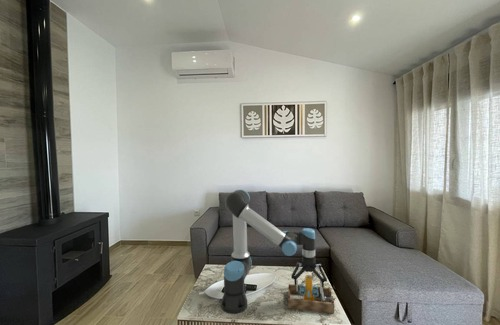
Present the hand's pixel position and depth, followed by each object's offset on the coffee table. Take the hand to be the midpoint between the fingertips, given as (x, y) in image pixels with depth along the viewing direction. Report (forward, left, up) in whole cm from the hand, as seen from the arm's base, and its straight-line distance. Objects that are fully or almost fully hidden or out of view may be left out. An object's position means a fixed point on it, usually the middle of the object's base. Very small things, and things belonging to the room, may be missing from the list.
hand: (308, 291), depth 136 cm
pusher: (+11, 0, -6) cm, 12 cm away
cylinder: (0, 0, -6) cm, 6 cm away
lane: (0, 0, -6) cm, 6 cm away
